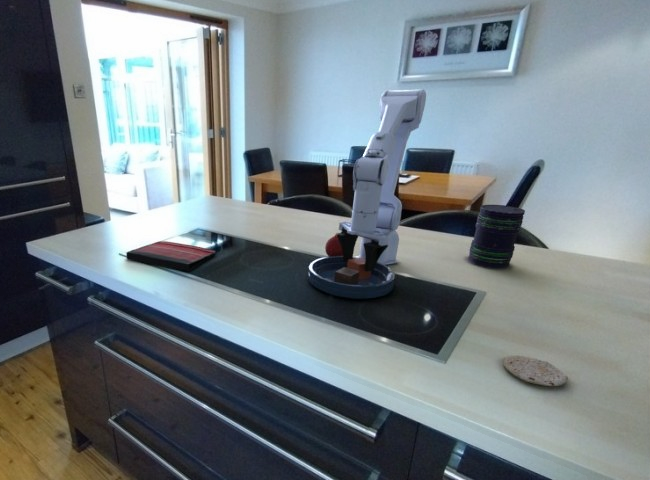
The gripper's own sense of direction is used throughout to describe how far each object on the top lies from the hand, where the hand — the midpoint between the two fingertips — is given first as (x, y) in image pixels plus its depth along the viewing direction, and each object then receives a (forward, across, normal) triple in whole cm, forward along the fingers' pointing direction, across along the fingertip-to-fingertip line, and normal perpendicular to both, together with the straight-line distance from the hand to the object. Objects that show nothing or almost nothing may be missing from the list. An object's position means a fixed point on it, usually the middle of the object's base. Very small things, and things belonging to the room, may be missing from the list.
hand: (358, 265), depth 95 cm
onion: (+4, -12, +3) cm, 13 cm away
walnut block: (+3, +4, -7) cm, 9 cm away
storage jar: (+4, +7, +40) cm, 41 cm away
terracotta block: (+3, 0, 0) cm, 3 cm away
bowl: (+3, +2, -4) cm, 5 cm away
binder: (+4, -34, -37) cm, 50 cm away
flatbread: (+3, +42, -2) cm, 42 cm away
